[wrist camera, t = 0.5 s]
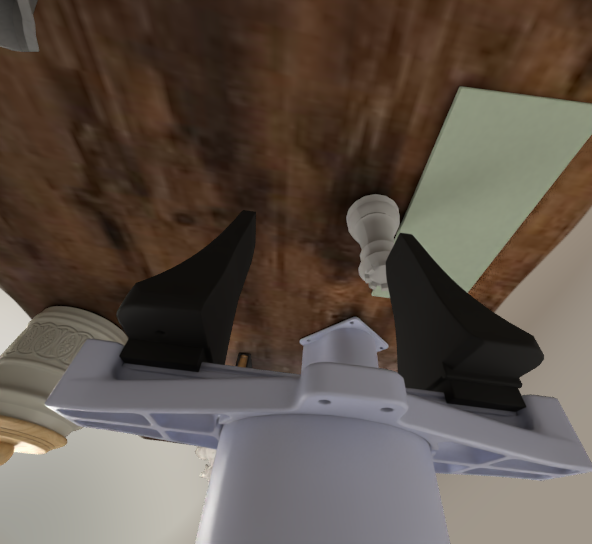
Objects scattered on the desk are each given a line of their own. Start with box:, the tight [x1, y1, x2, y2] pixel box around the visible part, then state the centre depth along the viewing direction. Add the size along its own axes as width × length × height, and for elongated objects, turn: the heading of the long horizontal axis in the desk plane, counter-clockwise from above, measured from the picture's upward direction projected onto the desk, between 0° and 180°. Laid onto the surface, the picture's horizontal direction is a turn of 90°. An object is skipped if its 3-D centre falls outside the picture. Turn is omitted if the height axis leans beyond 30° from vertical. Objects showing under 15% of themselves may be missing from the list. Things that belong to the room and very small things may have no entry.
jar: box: [0, 306, 128, 466], centre depth 37 cm, size 13×13×18 cm
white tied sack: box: [195, 446, 217, 482], centre depth 71 cm, size 12×8×11 cm
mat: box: [372, 86, 592, 298], centre depth 25 cm, size 20×10×1 cm, turn 175°
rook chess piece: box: [346, 194, 400, 291], centre depth 22 cm, size 4×4×8 cm
